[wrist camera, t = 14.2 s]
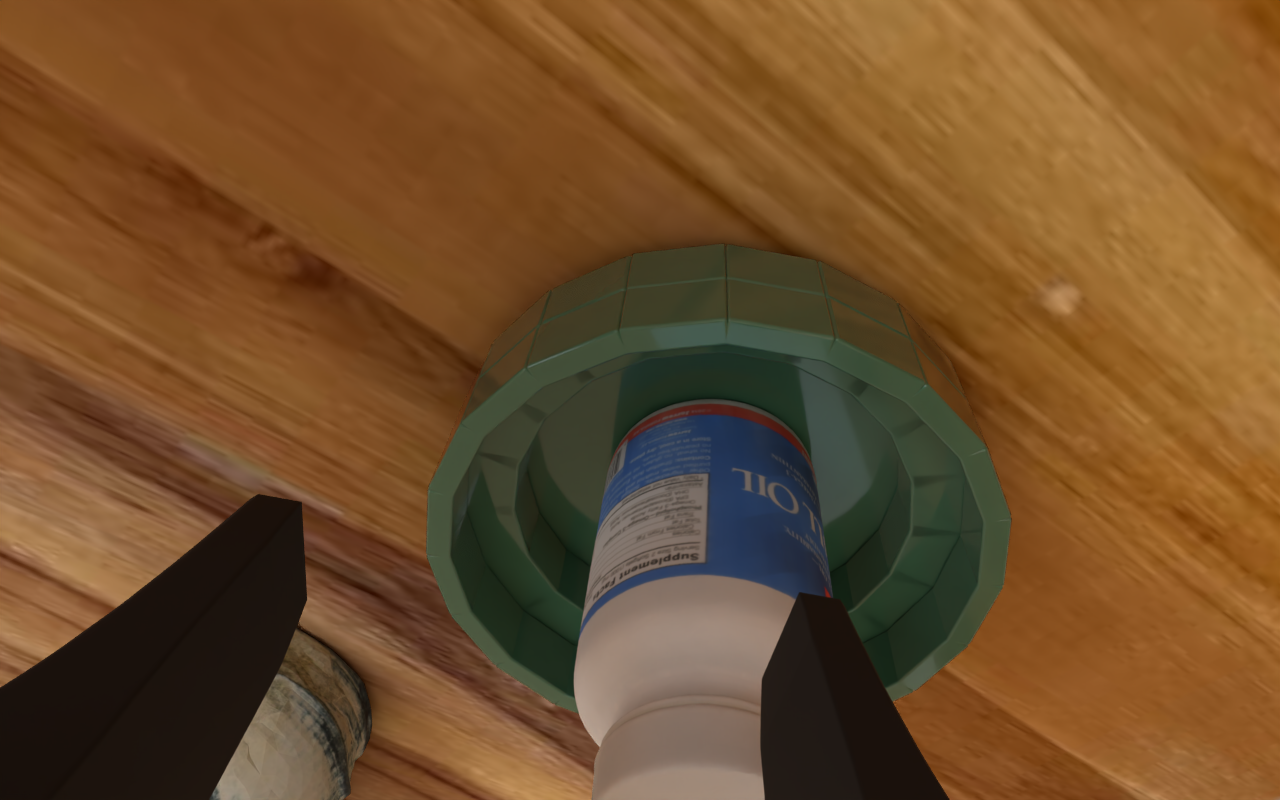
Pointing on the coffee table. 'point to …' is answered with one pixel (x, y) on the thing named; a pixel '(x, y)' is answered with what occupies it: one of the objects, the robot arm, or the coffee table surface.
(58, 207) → the coffee table surface
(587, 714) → the pill bottle
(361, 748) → the seashell
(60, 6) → the coffee table surface
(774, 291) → the bowl
